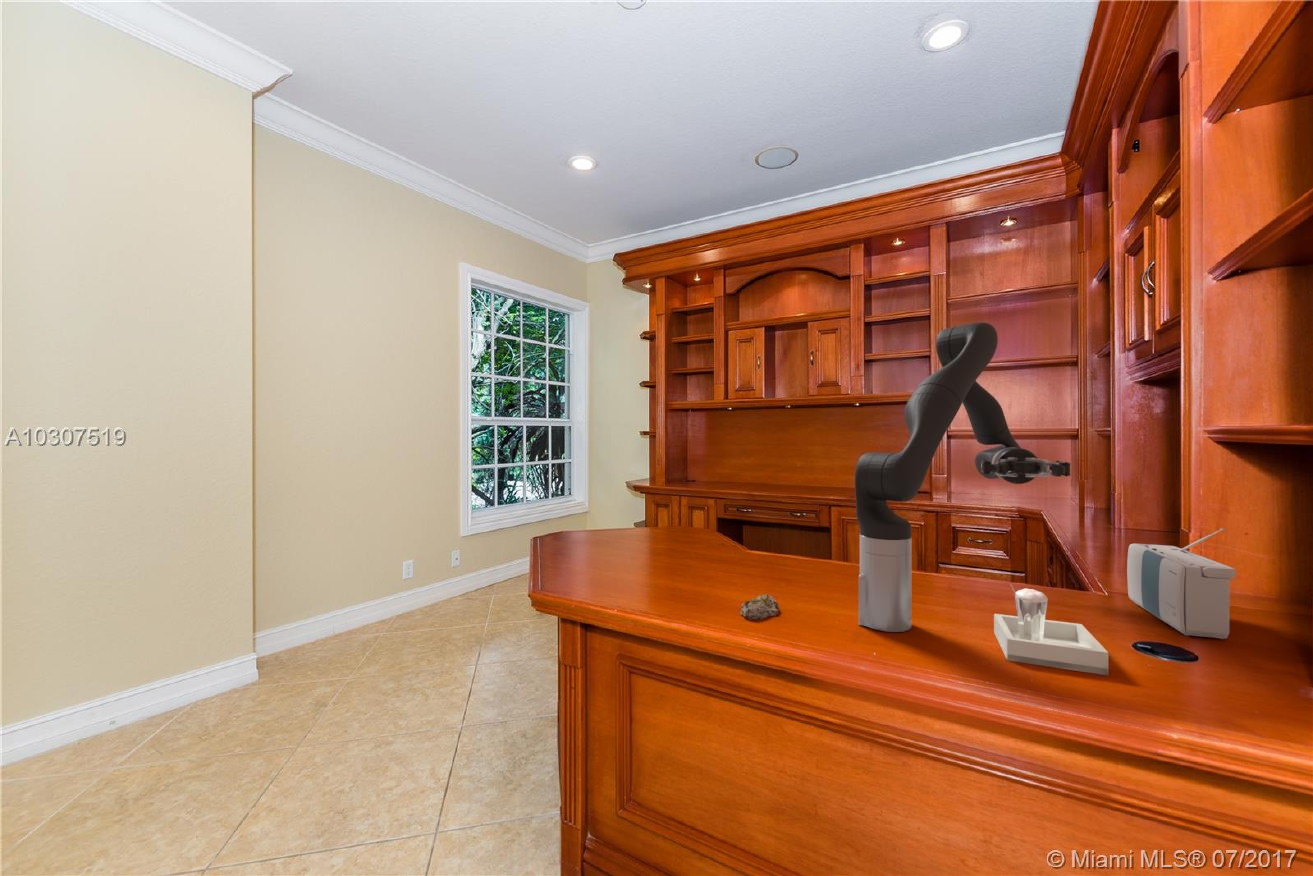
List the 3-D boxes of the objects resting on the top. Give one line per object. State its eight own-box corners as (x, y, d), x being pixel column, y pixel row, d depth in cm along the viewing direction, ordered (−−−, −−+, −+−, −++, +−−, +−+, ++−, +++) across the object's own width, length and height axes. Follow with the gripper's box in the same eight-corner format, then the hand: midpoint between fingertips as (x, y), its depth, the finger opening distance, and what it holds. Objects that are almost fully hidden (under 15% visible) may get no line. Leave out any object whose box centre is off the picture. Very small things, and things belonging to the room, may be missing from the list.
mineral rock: (748, 592, 116) (782, 587, 112) (753, 611, 116) (787, 608, 111) (726, 607, 107) (762, 603, 103) (732, 628, 107) (768, 625, 102)
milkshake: (1005, 636, 93) (1005, 580, 93) (1039, 639, 92) (1040, 582, 92) (1015, 647, 89) (1016, 587, 88) (1052, 650, 87) (1052, 590, 87)
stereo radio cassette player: (1125, 602, 114) (1125, 510, 114) (1174, 606, 111) (1174, 512, 111) (1178, 637, 95) (1179, 527, 95) (1239, 644, 92) (1240, 530, 92)
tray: (1007, 660, 86) (1007, 639, 86) (994, 632, 98) (994, 613, 98) (1108, 675, 80) (1108, 652, 80) (1081, 644, 92) (1081, 624, 92)
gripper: (975, 447, 116) (987, 449, 102) (1054, 447, 110) (1078, 450, 96) (975, 481, 116) (986, 488, 102) (1054, 483, 110) (1078, 491, 96)
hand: (1031, 470), depth 99 cm, fingers open, 8 cm apart
